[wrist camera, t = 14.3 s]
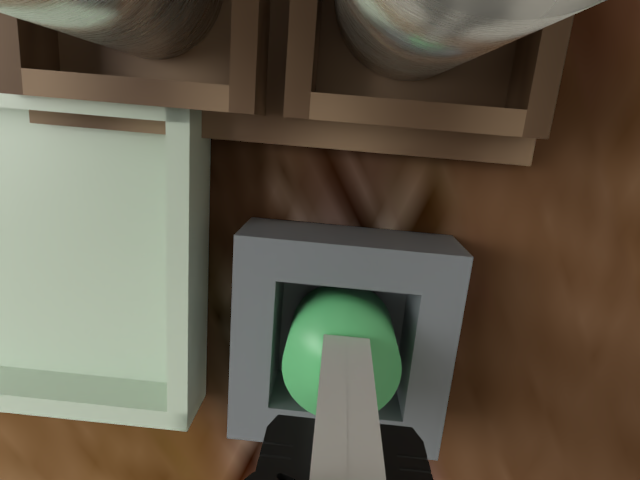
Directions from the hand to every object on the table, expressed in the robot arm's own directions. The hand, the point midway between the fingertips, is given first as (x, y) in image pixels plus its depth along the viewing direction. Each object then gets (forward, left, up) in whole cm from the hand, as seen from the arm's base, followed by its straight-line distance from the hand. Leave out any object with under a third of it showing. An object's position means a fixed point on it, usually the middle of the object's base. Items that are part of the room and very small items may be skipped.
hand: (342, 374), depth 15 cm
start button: (0, 0, -3) cm, 3 cm away
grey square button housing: (0, 0, -4) cm, 4 cm away
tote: (-16, +2, -4) cm, 17 cm away
